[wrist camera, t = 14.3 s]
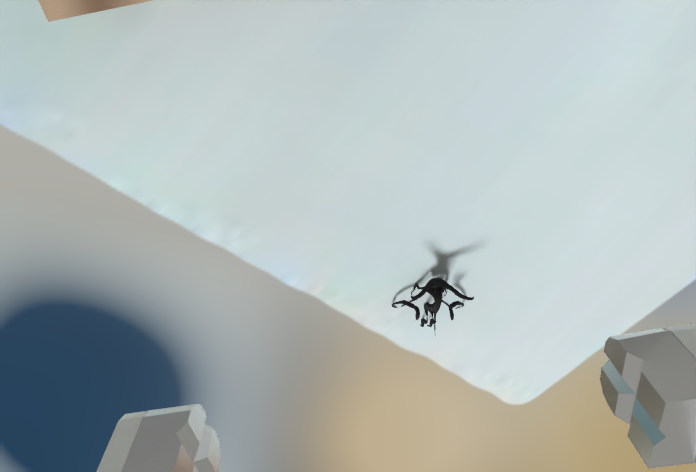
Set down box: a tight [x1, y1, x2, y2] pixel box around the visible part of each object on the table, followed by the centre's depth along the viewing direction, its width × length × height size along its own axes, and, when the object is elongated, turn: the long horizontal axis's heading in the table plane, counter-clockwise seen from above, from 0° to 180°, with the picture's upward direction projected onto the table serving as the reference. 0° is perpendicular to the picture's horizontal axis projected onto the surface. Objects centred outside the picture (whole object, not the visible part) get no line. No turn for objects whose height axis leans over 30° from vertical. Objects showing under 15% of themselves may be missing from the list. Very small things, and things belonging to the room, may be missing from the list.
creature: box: [392, 278, 474, 329], centre depth 49 cm, size 8×5×8 cm
